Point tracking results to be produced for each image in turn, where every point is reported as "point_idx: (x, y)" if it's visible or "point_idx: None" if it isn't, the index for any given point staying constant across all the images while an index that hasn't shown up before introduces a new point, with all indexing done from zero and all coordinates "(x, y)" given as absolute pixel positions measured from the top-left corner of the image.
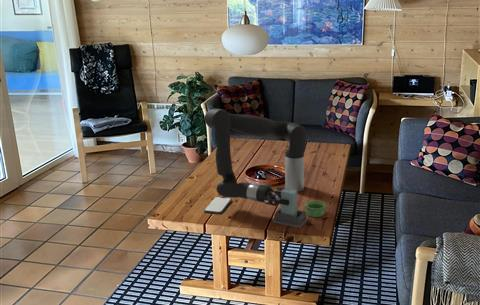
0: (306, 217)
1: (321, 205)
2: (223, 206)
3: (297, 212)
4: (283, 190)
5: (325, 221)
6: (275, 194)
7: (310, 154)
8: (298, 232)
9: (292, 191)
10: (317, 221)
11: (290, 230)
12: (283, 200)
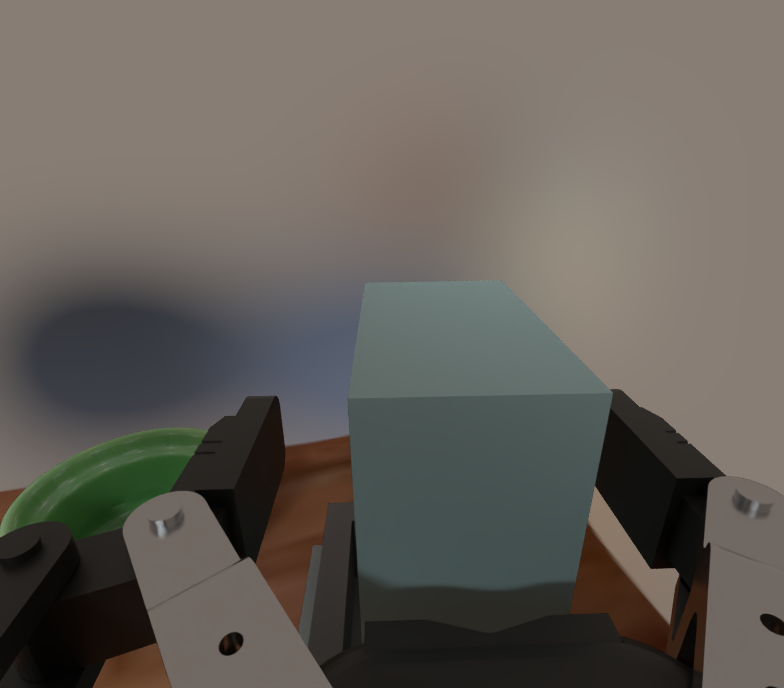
0: (314, 558)
1: (87, 488)
2: None
3: (347, 588)
4: (508, 372)
5: (303, 462)
6: (729, 679)
7: None
8: (584, 539)
9: (434, 298)
10: (321, 497)
11: (617, 611)
12: (667, 445)
